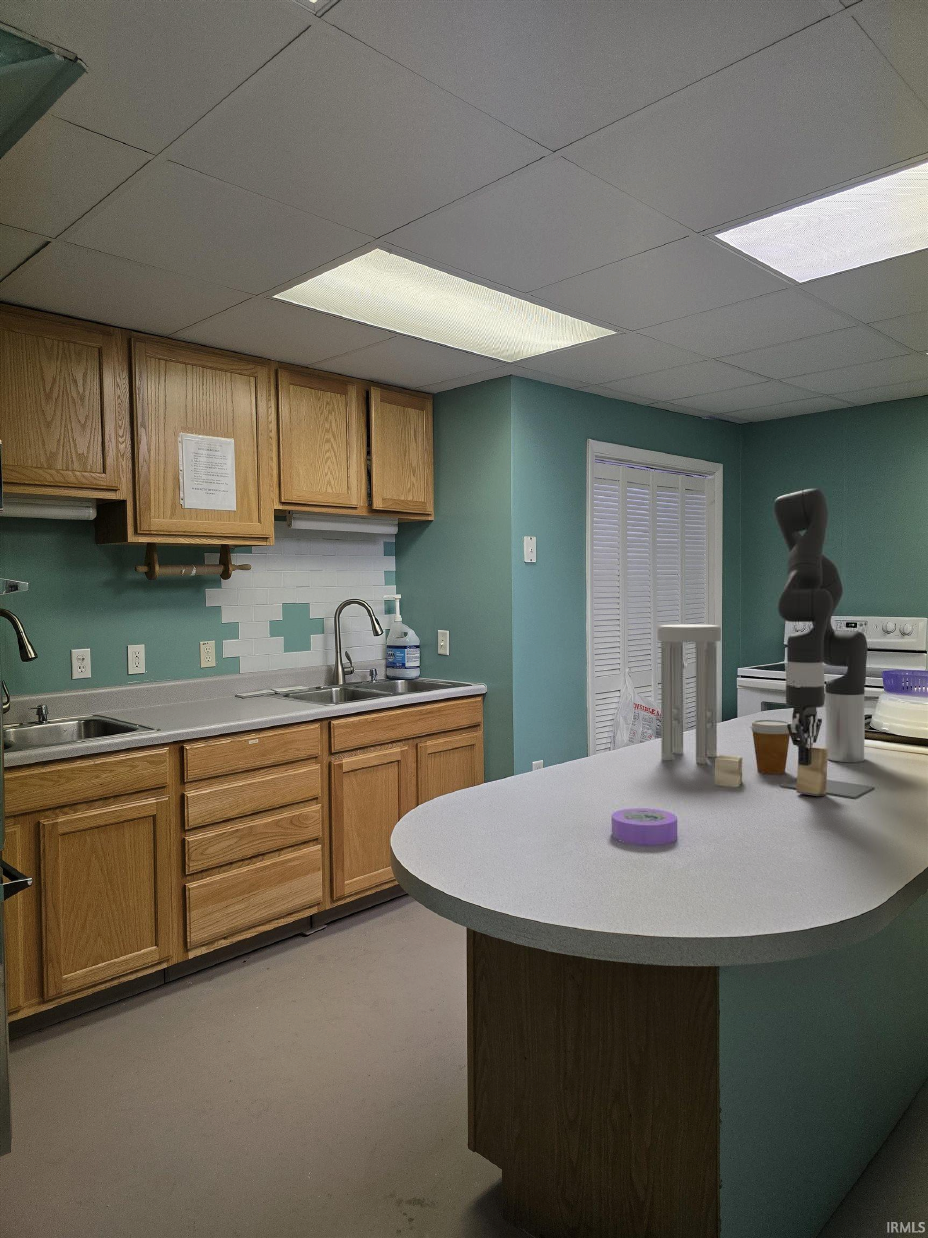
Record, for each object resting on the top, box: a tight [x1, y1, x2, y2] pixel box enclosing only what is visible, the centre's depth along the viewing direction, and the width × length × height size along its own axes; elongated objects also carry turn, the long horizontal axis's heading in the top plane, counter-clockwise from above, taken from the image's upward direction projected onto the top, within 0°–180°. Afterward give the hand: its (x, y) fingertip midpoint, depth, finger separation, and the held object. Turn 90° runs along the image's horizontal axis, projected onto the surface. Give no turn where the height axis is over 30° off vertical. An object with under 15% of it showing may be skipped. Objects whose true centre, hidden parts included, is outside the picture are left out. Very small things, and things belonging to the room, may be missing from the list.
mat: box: [779, 777, 875, 800], centre depth 182 cm, size 12×16×1 cm
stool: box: [657, 623, 722, 765], centre depth 215 cm, size 16×16×35 cm
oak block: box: [795, 746, 829, 797], centre depth 176 cm, size 4×4×10 cm
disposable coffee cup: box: [750, 719, 791, 775], centre depth 198 cm, size 10×10×12 cm
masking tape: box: [611, 807, 678, 846], centre depth 148 cm, size 12×12×4 cm
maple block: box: [714, 754, 743, 788], centre depth 187 cm, size 5×5×6 cm
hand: (804, 764), depth 173 cm, fingers closed
